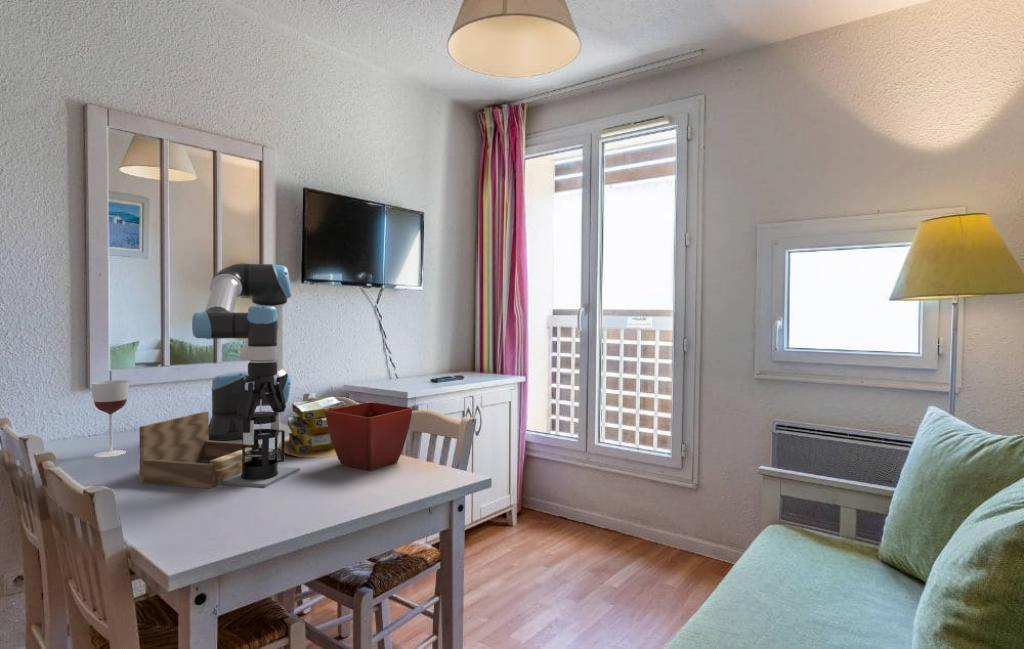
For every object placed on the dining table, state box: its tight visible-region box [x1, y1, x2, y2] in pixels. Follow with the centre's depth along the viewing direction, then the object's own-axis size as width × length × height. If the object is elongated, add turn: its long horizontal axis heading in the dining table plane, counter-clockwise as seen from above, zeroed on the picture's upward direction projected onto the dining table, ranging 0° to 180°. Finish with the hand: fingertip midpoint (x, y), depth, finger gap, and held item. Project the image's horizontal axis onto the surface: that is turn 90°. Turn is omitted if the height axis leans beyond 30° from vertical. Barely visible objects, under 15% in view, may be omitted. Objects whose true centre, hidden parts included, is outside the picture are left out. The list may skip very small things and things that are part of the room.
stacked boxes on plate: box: [278, 396, 348, 459], centre depth 190 cm, size 25×25×17 cm
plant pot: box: [325, 401, 413, 471], centre depth 172 cm, size 19×19×17 cm
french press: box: [241, 392, 286, 479], centre depth 155 cm, size 12×9×23 cm
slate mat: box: [221, 465, 301, 488], centre depth 157 cm, size 16×13×1 cm
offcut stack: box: [209, 448, 252, 486], centre depth 158 cm, size 18×5×6 cm, turn 172°
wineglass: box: [91, 379, 130, 458], centre depth 180 cm, size 9×10×23 cm
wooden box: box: [139, 411, 262, 489], centre depth 160 cm, size 24×22×15 cm
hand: (262, 439), depth 156 cm, fingers open, 11 cm apart
